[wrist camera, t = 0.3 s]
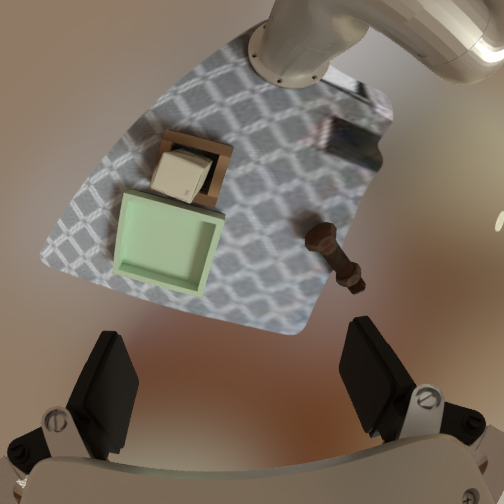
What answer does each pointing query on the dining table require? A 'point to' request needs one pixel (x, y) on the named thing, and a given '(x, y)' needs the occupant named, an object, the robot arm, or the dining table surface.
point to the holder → (223, 150)
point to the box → (181, 174)
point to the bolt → (335, 256)
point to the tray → (166, 242)
